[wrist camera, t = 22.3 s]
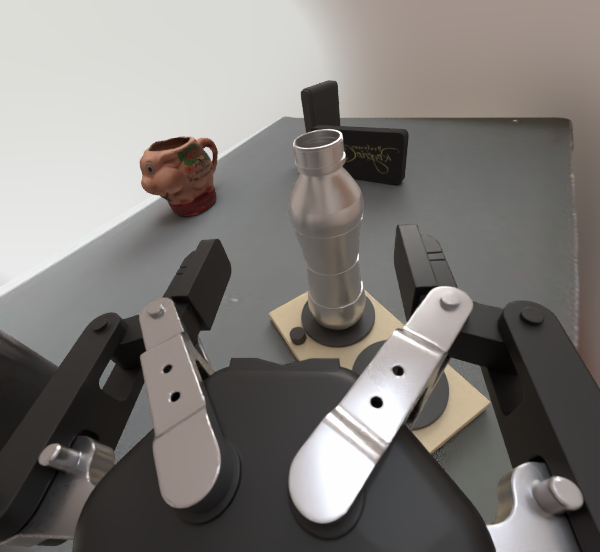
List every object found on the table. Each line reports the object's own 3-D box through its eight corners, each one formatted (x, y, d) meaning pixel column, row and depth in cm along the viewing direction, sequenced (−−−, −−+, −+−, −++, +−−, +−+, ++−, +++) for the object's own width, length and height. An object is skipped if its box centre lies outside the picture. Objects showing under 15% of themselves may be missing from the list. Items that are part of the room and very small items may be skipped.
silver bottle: (307, 336, 32) (262, 163, 18) (315, 292, 37) (283, 128, 23) (366, 339, 30) (363, 152, 17) (365, 292, 35) (364, 117, 21)
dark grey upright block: (333, 141, 80) (328, 79, 70) (343, 144, 77) (339, 79, 67) (307, 152, 77) (298, 89, 67) (316, 156, 75) (307, 90, 64)
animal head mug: (208, 180, 75) (185, 124, 65) (244, 183, 70) (224, 123, 60) (151, 222, 63) (112, 161, 54) (189, 230, 58) (154, 163, 48)
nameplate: (404, 181, 57) (409, 129, 50) (400, 185, 56) (404, 133, 49) (320, 169, 68) (314, 124, 61) (315, 172, 67) (309, 127, 61)
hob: (384, 494, 22) (385, 487, 21) (271, 319, 37) (266, 306, 35) (486, 408, 26) (495, 396, 24) (344, 279, 40) (343, 265, 38)
